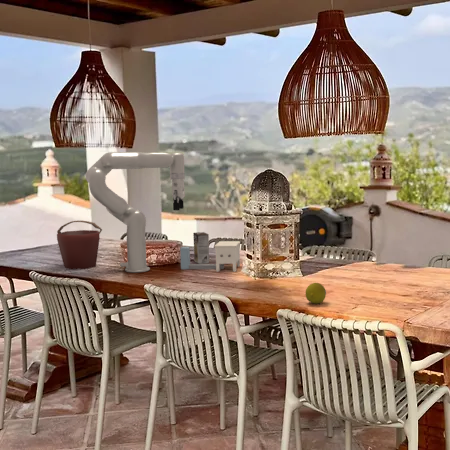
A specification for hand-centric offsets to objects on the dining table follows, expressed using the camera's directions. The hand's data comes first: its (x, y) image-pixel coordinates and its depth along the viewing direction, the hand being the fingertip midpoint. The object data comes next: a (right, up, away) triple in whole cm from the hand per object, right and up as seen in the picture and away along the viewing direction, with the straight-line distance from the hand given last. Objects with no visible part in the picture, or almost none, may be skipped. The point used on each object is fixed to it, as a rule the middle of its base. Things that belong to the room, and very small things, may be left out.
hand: (178, 209), depth 339 cm
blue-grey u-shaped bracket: (+13, -31, -5) cm, 34 cm away
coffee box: (+12, -29, +15) cm, 34 cm away
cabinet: (+26, -31, -7) cm, 41 cm away
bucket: (-54, -31, +11) cm, 63 cm away
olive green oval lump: (+60, -39, -87) cm, 113 cm away
